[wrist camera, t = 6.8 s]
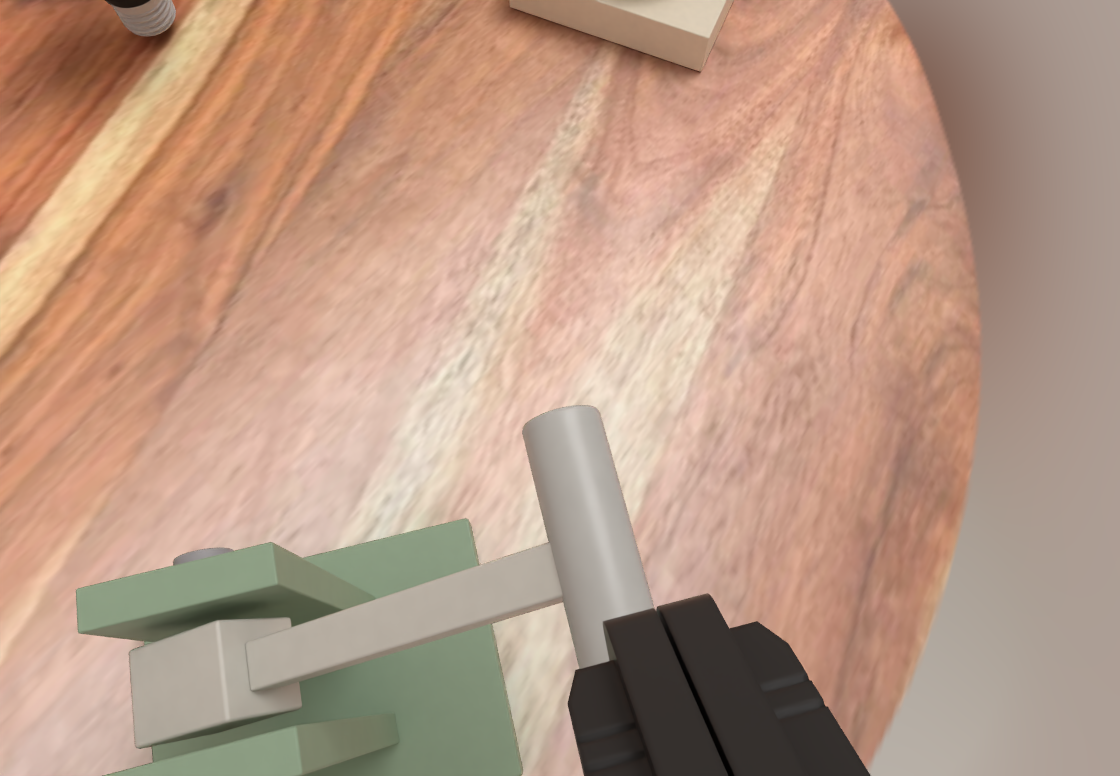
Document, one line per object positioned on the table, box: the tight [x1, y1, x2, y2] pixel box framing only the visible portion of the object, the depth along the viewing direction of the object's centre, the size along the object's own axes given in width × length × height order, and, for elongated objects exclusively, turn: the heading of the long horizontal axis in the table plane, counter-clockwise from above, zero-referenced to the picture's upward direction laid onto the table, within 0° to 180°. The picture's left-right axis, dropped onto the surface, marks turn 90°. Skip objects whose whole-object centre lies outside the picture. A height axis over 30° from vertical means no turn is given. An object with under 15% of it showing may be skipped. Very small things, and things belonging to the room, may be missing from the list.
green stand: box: [76, 518, 523, 776], centre depth 24 cm, size 12×9×13 cm
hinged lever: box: [129, 405, 655, 749], centre depth 18 cm, size 12×6×2 cm, turn 104°
